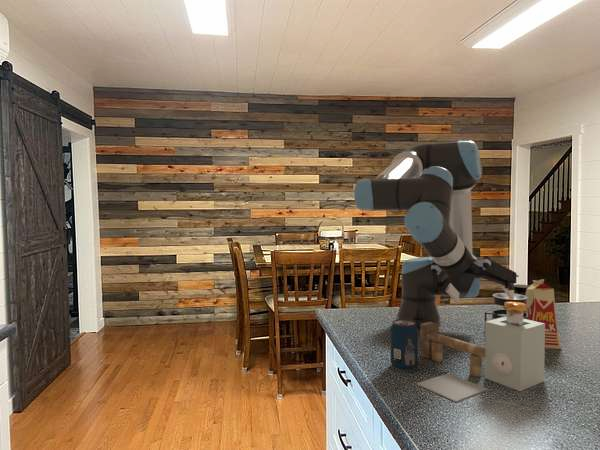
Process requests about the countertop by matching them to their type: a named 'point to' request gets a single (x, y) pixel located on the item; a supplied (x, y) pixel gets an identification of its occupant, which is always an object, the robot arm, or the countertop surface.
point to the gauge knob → (515, 313)
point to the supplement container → (520, 289)
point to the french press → (500, 300)
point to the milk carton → (543, 311)
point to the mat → (452, 387)
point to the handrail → (434, 346)
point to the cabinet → (514, 353)
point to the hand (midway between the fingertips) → (484, 296)
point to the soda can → (404, 345)
